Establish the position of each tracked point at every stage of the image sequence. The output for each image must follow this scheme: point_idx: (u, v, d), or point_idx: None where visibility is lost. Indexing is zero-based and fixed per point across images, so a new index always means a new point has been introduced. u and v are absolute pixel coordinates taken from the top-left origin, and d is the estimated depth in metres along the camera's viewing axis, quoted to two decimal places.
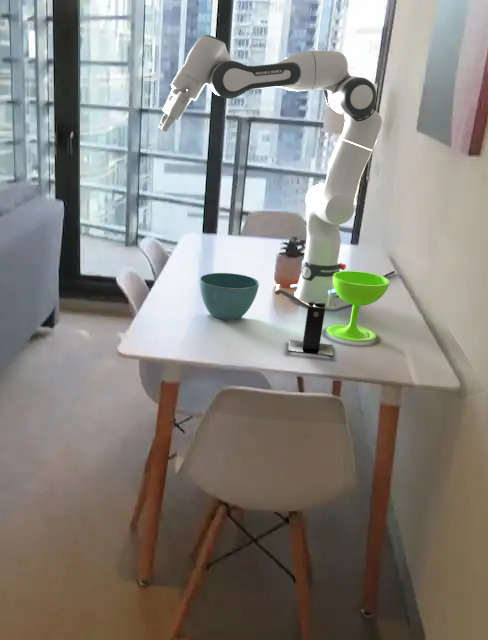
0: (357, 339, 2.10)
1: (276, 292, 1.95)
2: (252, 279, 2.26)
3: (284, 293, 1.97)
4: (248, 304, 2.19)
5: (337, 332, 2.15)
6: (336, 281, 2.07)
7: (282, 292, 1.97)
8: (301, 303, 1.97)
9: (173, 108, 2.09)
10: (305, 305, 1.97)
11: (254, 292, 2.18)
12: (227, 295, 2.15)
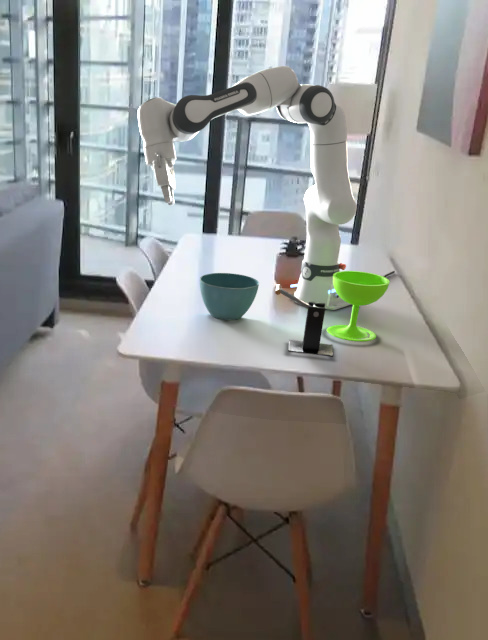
0: (357, 339, 2.10)
1: (276, 292, 1.95)
2: (252, 279, 2.26)
3: (284, 293, 1.97)
4: (248, 304, 2.19)
5: (337, 332, 2.15)
6: (336, 281, 2.07)
7: (282, 292, 1.97)
8: (301, 303, 1.97)
9: (157, 177, 2.01)
10: (305, 305, 1.97)
11: (254, 292, 2.18)
12: (227, 295, 2.15)
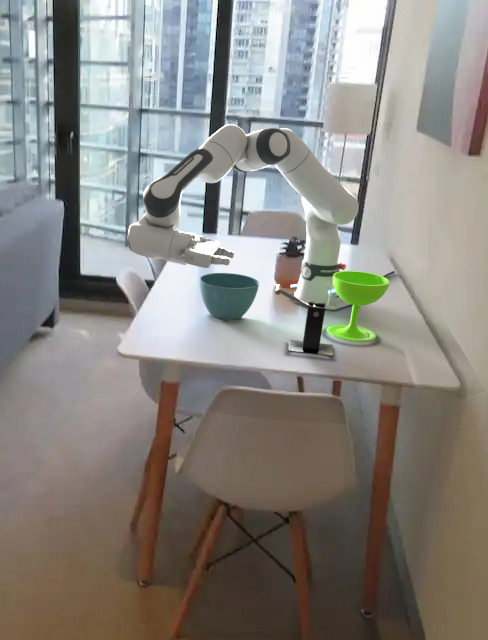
0: (357, 339, 2.10)
1: (276, 292, 1.95)
2: (252, 279, 2.26)
3: (284, 293, 1.97)
4: (248, 304, 2.19)
5: (337, 332, 2.15)
6: (336, 281, 2.07)
7: (282, 292, 1.97)
8: (301, 303, 1.97)
9: (201, 265, 1.90)
10: (305, 305, 1.97)
11: (254, 292, 2.18)
12: (227, 295, 2.15)
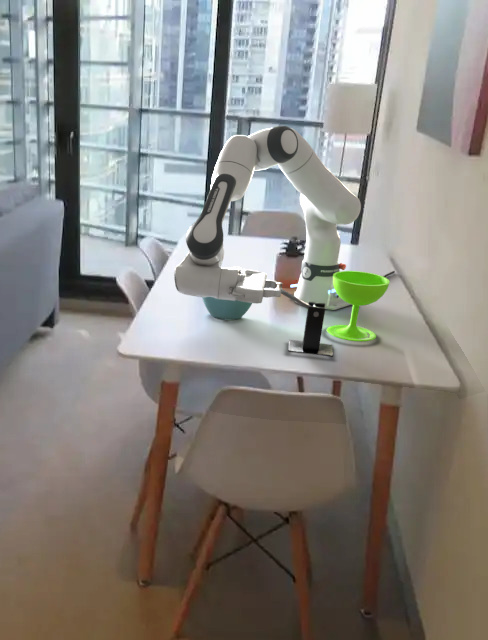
0: (357, 339, 2.10)
1: None
2: None
3: (284, 293, 1.97)
4: (248, 304, 2.19)
5: (337, 332, 2.15)
6: (336, 281, 2.07)
7: (282, 292, 1.97)
8: (301, 303, 1.97)
9: (253, 302, 1.90)
10: (305, 305, 1.97)
11: None
12: None
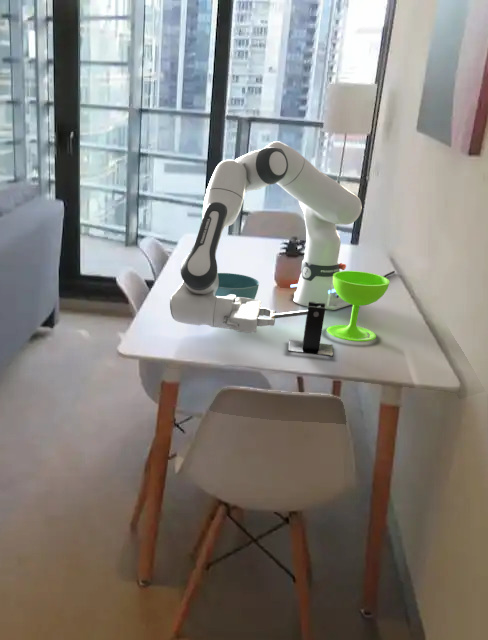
0: (357, 339, 2.10)
1: None
2: (252, 279, 2.26)
3: (279, 316, 1.99)
4: None
5: (337, 332, 2.15)
6: (336, 281, 2.07)
7: (276, 316, 2.00)
8: (298, 313, 1.98)
9: (247, 331, 1.93)
10: (303, 313, 1.98)
11: (254, 292, 2.18)
12: None
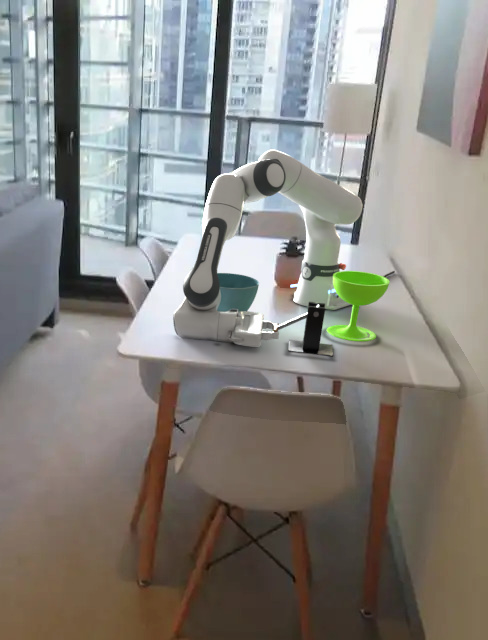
0: (357, 339, 2.10)
1: None
2: (252, 279, 2.26)
3: (282, 326, 2.00)
4: (248, 304, 2.19)
5: (337, 332, 2.15)
6: (336, 281, 2.07)
7: (280, 327, 2.01)
8: (300, 318, 1.98)
9: (252, 345, 1.94)
10: (304, 316, 1.98)
11: (254, 292, 2.18)
12: (227, 295, 2.15)
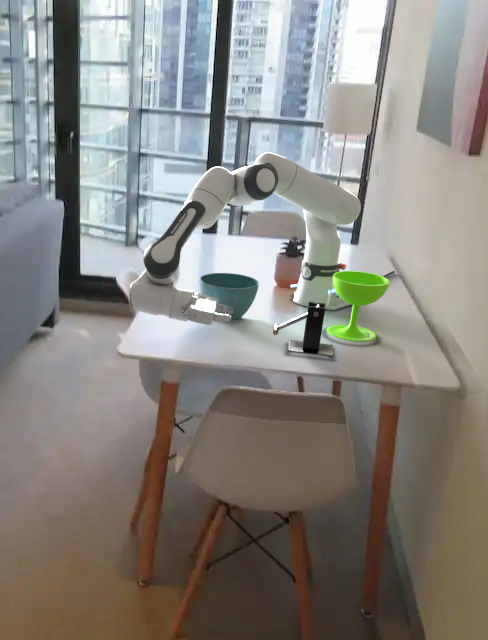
0: (357, 339, 2.10)
1: (274, 333, 1.99)
2: (252, 279, 2.26)
3: (282, 326, 2.00)
4: (248, 304, 2.19)
5: (337, 332, 2.15)
6: (336, 281, 2.07)
7: (280, 327, 2.01)
8: (300, 318, 1.98)
9: (203, 323, 1.95)
10: (304, 316, 1.98)
11: (254, 292, 2.18)
12: (227, 295, 2.15)
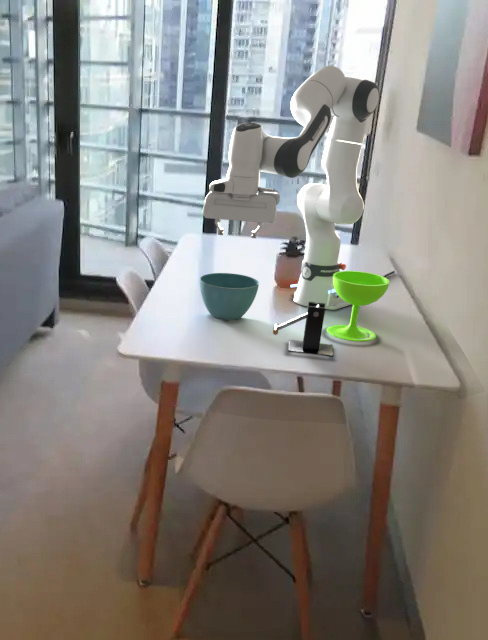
0: (357, 339, 2.10)
1: (274, 333, 1.99)
2: (252, 279, 2.26)
3: (282, 326, 2.00)
4: (248, 304, 2.19)
5: (337, 332, 2.15)
6: (336, 281, 2.07)
7: (280, 327, 2.01)
8: (300, 318, 1.98)
9: (275, 215, 1.96)
10: (304, 316, 1.98)
11: (254, 292, 2.18)
12: (227, 295, 2.15)
